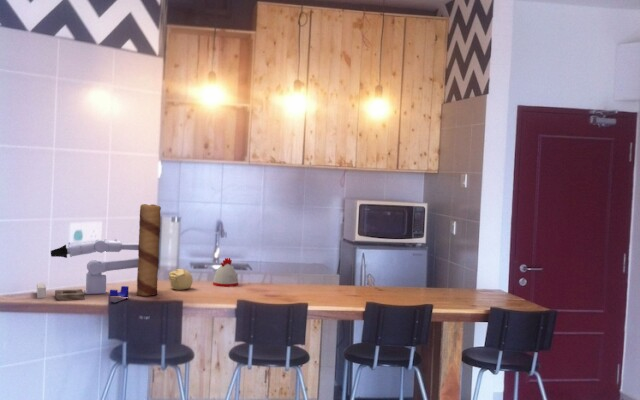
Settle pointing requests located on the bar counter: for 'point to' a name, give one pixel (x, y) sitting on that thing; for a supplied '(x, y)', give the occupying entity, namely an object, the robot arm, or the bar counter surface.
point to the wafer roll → (148, 249)
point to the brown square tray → (69, 294)
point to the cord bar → (41, 290)
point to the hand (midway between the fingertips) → (50, 253)
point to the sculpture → (180, 279)
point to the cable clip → (122, 293)
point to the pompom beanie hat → (225, 275)
